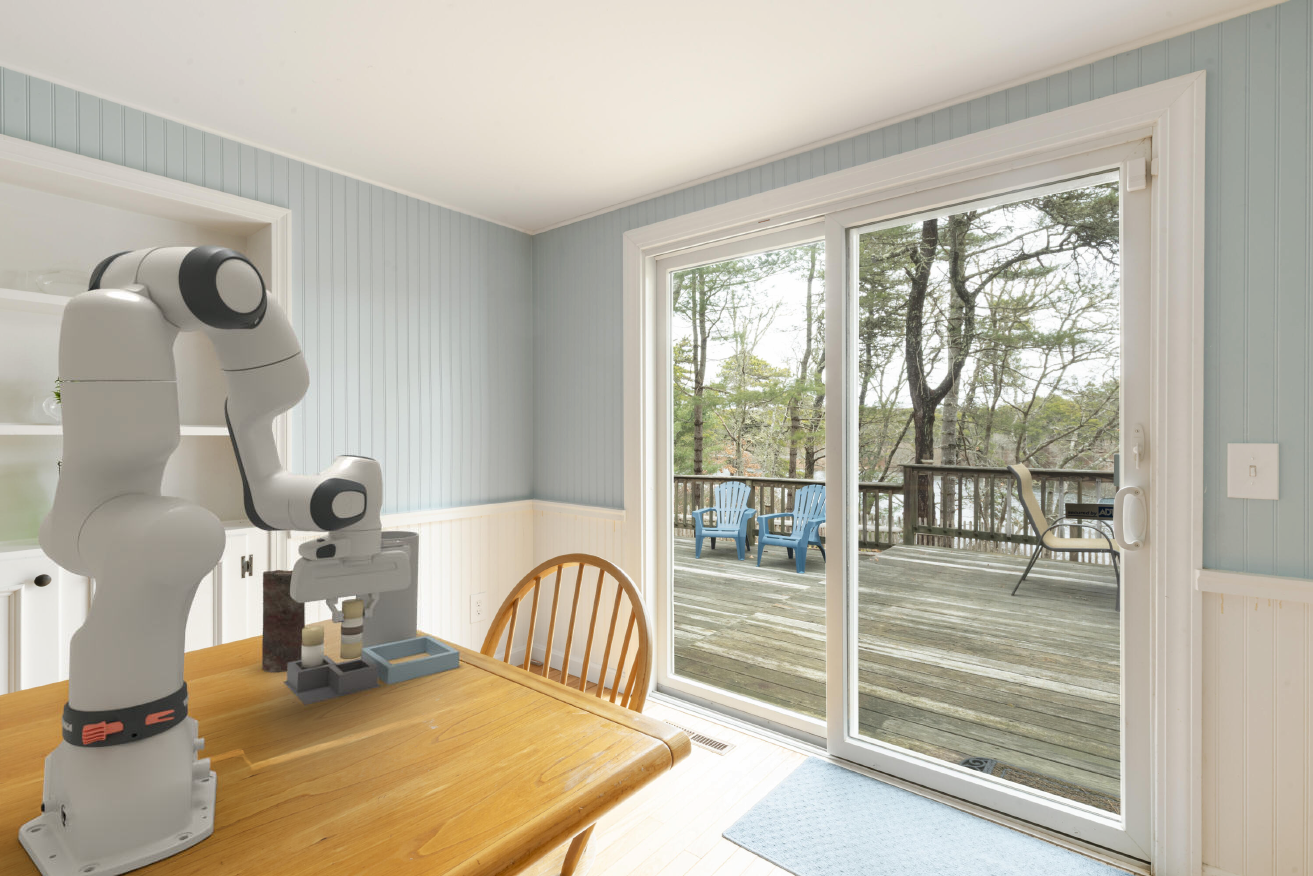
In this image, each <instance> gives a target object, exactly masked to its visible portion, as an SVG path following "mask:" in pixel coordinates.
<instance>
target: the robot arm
mask: <svg viewBox="0 0 1313 876" xmlns="http://www.w3.org/2000/svg"><path fill="white" fill-rule="evenodd" d="M63 309H64V310H63V314H62V320H61V324H60V331H59V332H60V333H59V341H58V380H59V382H58V383H59V395H60V397H59V398H60V407H61V409H60V411H61V423H62V424H61V425H62V426H61V427H62V458H61V465H60V470H59V475H58V480H57V484H56V489H55V495H54V499H53V503H52V506H51V509H50V510H49V511H48V512H47V513H46V515H45V516H44V518H43V519H42V521H41V523H40V526H39V531H38V542H39V545H40V548H41V549H42V552H43V553H44V554H45V555H46V557H48V558H49V559H51V561H53V562H54V563H55V564H56V565H57V566H59V567H61V568H63V569H64V570H65V571H67V572H69V573H71V574H74V575H78V576H81V577H86V578H90V579H91V578H92V579H94V580H95V581H94V582H95V588H94V589H95V590H94V593H93V598H92V602H91V604H90V607H89V610H88V613H87V615H86V618H85V621H84V622H83V624H82V625H81V626H80V627H79V628H78V629H77V630H76V631H75V632H74V633H73V635H72V636H71V639H70V643H69V663H68V664H69V666H68V667H69V669H68V698H67V699H68V701H66V703H65V704H64V705H63V712H62V714H61V715H62V716H61V727H62V730H61V731H62V732H61V734H62V741H61V743H59V744H58V746H57V747H56V748H54V750H52V751H51V752H50V753H49V754H48V755H47V756H46V757H45V759H44V770H43V772H44V773H43V786H42V787H43V788H42V789H43V790H42V803H41V805H40V811H41V815H39V816H37V817H35V818H34V819H32V820H29V821H28V822H26V823H24V824H23V825H21V826H20V828H19V831H18V840H19V842H20V843H21V845H22V847H23V848H24V849H25V851H26V852H27V854H28V855H29V857H30V858H31V860H32V862H33V863H34V865H35V866H36V867H37V869H38V870H39V872H40V874H41V875H42V876H118V875H121V874H124V873H127V872H130V871H133V870H136V869H139V868H142V867H145V866H148V865H150V864H152V863H156V862H158V861H160V860H161V861H162V860H163V859H166V858H168V857H170V856H173V855H175V854H178V853H179V852H182V851H184V850H187V849H188V848H190V847H192V846H194V845H196V844H198V843H200V842H201V841H203V840H204V839H206V838H209V836H211V835H212V834H213V833H214V824H215V814H216V812H215V811H216V798H217V797H216V796H217V785H218V784H217V783H218V777H217V772H216V771H214V770H211V757H205V758H201V759H198V751H202V750H205V744H206V743H205V742H206V741H205V738H204V737H201V738H199V720H196V719H195V718H193V717H191V716H189V715H188V714H189V705H188V704H189V701H190V700H189V699H190V696H189V691H188V684H187V683H188V682H187V681H185V680H184V676H185V675H184V674H185V673H184V672H185V651H186V650H185V647H186V631H187V625H188V624H187V623H188V619H189V615H190V612H191V608H192V605H193V602H194V599H195V597H196V593H197V591H198V590H199V589H198V588H200V587H199V586H200V584H201V583H202V581H203V580H204V578H205V577H207V576H208V574H210V573H211V572H212V571H213V570H214V569H215V568H216V567H217V565H218V564H219V562H220V561H221V559H222V557H223V555H224V552H225V549H226V543H227V537H226V536H227V535H226V531H225V526H224V524H223V522H222V521H221V520H220V519H219V517H218V516H217V515H216V514H215V513H213V512H212V511H211V510H209V509H207V508H205V507H203V506H201V505H199V504H197V503H194V502H193V501H190V500H187V499H185V498H182V497H177V496H176V497H175V496H168V495H161V494H162V492H161V491H162V490H161V488H162V482H163V477H164V473H165V469H166V467H167V464H168V461H169V459H170V457H171V455H172V454H173V453H174V452H175V451H176V450H177V448H178V447H179V445H180V442H181V438H182V437H181V425H180V409H179V396H178V395H179V394H178V393H179V392H178V382H177V381H178V378H177V369H176V362H175V361H176V360H175V356H174V355H175V354H174V345H175V342H176V339H177V338H178V335H179V333H180V332H181V333H192V332H193V333H195V332H202V333H203V334H204V335H205V336H206V337H207V338H208V339H209V341H210V342H211V345H212V348H213V350H214V353H215V357H216V360H217V362H218V365H219V367H220V369H221V370H220V371H221V372H222V374H223V377H224V380H225V384H226V390H227V397H226V398H225V401H224V405H223V407H224V410H223V411H224V417H225V422H226V426H227V431H228V434H229V438H230V442H231V445H232V449H233V452H234V455H235V460H236V463H237V467H238V469H239V473H240V478H241V481H242V488H243V490H242V491H243V507H244V510H245V514H246V516H247V518H248V520H249V521H250V522H251V524H252V525H253V526H255V527H256V528H257V529H260V530H263V531H265V532H272V531H273V532H274V531H275V532H276V531H279V532H280V531H281V532H282V531H295V532H307V533H308V532H313V533H315V532H316V533H317V532H318V533H327V534H325V535H322V536H320V537H317V538H313V539H311V540H308V541H305V542H303V543H301V544H300V545H299V546H298V549H297V550H298V554H299V555H300V558H299V559H297V560H296V561H295V563H294V565H293V568H292V570H293V572H292V577H291V585H290V596H291V597H292V599H294V600H295V601H296V602H298V603H311V602H317V601H318V602H319V601H320V602H321V601H325V603H326V605H327V607H328V608H329V611H330V612H331V621H332V623H333V624H338V623H339V624H340V623H341V622H343V621H344V618H343V617H344V612H342V610H339V609H338V608H337V606H336V605H338V604H339V599H340V598H341V599H342V598H347V597H354V596H355V597H356V596H357V595H364V594H368V597H369V598H370V599H369V601H368V603H367V605H366V607H364V610H363V618H371V617H372V613H373V608H374V606H375V604H376V603H377V601H378V600H379V592H386V591H394V590H401V589H407V587H408V586H409V585H410V583H411V572H410V563H409V559H410V556H411V548H410V546H409V544H408V543H406V542H404V541H402V540H398V541H385V542H381V531H383V530H382V521H381V510H382V507H383V497H384V496H383V494H384V492H383V491H384V490H383V489H384V488H383V487H384V486H383V485H384V483H383V474H382V468H381V466H380V463H379V462H378V461H377V460H376V459H374V458H371V457H368V456H364V455H362V456H360V455H354V454H353V455H352V454H341V455H338V456H335V459H334V460H333V463H332V464H331V465H330V466H328V467H327V468H325V469H324V470H322V471H320V472H316V473H315V474H297V473H296V474H295V473H292V472H290V471H288V470H286V469H285V468H284V466H282V464H281V461H280V457H279V453H278V450H277V444H276V440H275V438H274V433H273V422H274V420H275V419H276V417H278V416H280V415H282V414H285V412H287V411H290V409H292V408H294V407H295V406H297V405H298V404H299V403H300V402H301V401H302V399H304V397H305V395H306V393H307V391H308V389H309V387H310V372H309V368H308V364H307V362H306V359H305V356H304V354H303V350H302V349H301V345H300V343H299V340H298V338H297V335H296V334H295V331H294V328H293V327H292V325H291V323H290V320H289V318H288V317H287V315H286V313H285V312H284V309H283V308H282V306H281V305H280V303H279V302H278V300H277V298H276V296H275V295H273V293H272V292H270V291H269V290H268V289H267V287H266V284H265V281H264V279H263V277H262V275H261V273H260V271H259V270H258V268H257V267H256V265H255V264H254V263H253V262H252V261H251V260H250V259H249V258H248V257H247V256H246V255H244V254H243V253H241V251H240V252H239V251H238V250H235V249H233V248H228V247H224V246H218V245H211V244H209V245H201V246H196V247H195V246H174V245H161V246H160V245H159V246H154V247H147V248H142V249H139V250H125V251H121V252H118V253H115V254H112V255H110V256H108V257H106V258H104V259H102V261H101V262H99V263H98V264H97V265H96V266H95V268H94V269H93V271H92V273H91V275H90V278H89V283H88V289H87V290H86V291H84V292H82V293H79V294H77V295H75V296H73V297H72V298H70V299H69V301H68V302H67V303H66V305H65V307H64V308H63ZM404 544H405V546H403V545H404ZM392 546H394V547H392Z"/></svg>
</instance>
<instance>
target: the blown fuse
mask: <svg viewBox="0 0 1313 876" xmlns="http://www.w3.org/2000/svg"><path fill="white" fill-rule="evenodd" d="M363 610H364V600H363V599H356V598H350V599H345V600H342V601H341V611H342V612H344V617H343V618H344V621H343V622H340V624H341V625H340V652H339V653H340V655H339V657H340V659H343V660H355V659H359V658H361V656H362V641H363Z"/></svg>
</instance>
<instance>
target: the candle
mask: <svg viewBox="0 0 1313 876" xmlns="http://www.w3.org/2000/svg"><path fill="white" fill-rule="evenodd" d="M292 572H293V569H292V570H284V569H276V570H268V571H264V572H263V573H262V642H261V643H262V645H261V646H262V647H261V649H262V653H261V654H262V656H261V657H262V659H261V661H262V664H261V665H262V670H263V671H264V672H266V673H284V672H285V673H287V663H289V662H294V661H299V660H301V658H302V629H303V628H305V627H306V625H305V624H306V623H305V622H306V617H305V616H306V615H305V613H306V612H305V610H306V607H305V603H306V602H305V603H298V602H296V601H295V600H294V599H292V597H291V596H290V585H291V577H292Z"/></svg>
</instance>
